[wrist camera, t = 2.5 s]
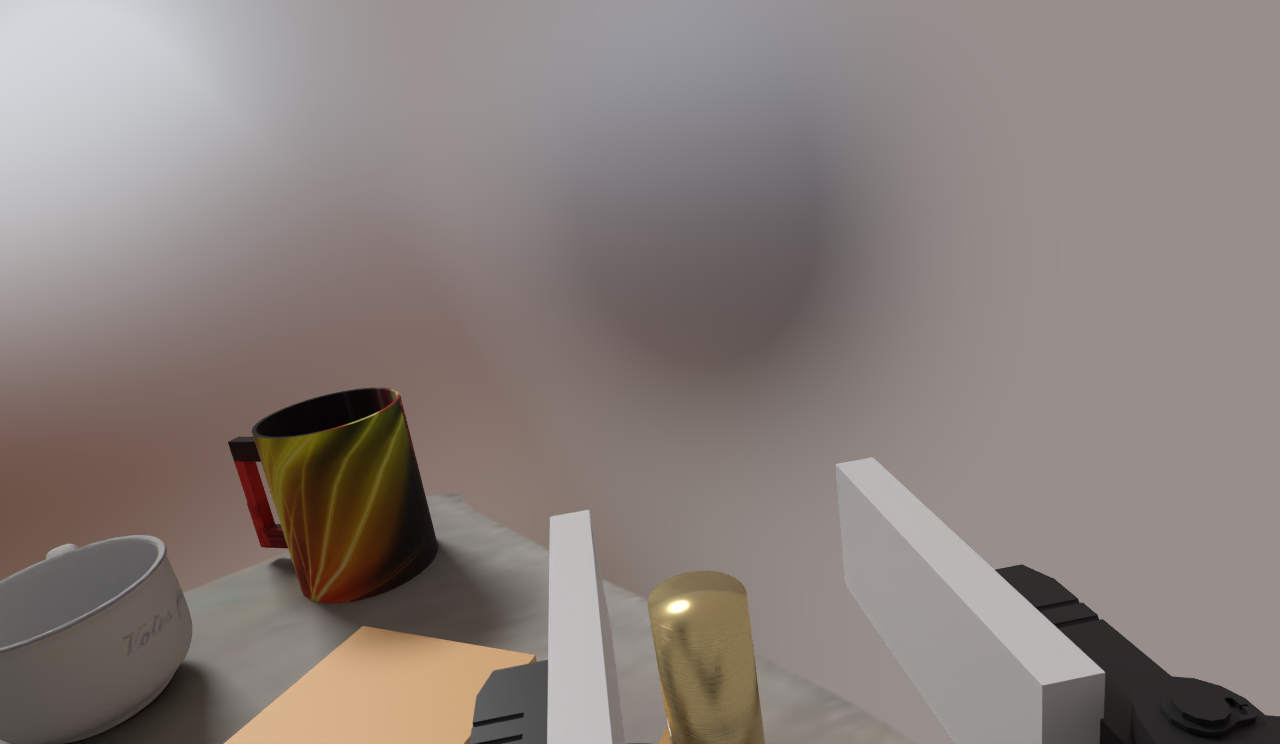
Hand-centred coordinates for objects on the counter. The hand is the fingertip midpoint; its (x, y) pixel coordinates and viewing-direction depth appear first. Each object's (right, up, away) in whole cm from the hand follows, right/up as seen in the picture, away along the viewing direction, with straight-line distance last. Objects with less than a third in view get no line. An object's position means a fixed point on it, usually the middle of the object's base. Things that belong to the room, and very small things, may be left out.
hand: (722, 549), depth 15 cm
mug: (-23, -11, +40) cm, 48 cm away
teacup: (-33, -16, +30) cm, 47 cm away
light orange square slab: (-15, -15, +22) cm, 30 cm away
